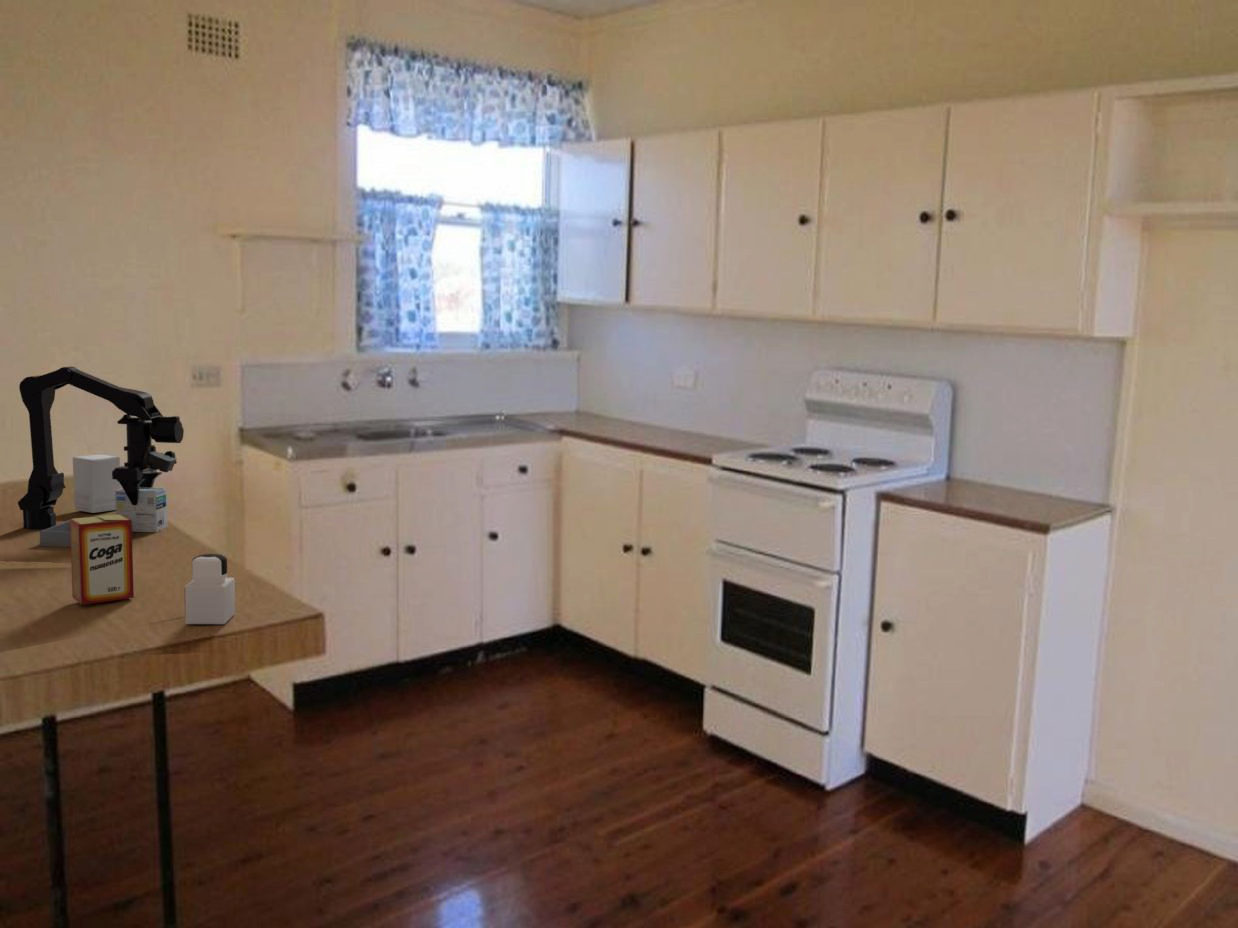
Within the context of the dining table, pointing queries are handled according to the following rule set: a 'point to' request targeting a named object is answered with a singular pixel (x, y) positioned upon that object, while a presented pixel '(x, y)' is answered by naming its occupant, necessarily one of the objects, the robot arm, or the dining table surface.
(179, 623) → the dining table surface
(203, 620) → the medicine bottle
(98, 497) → the supplement box
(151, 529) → the light bulb box
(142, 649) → the dining table surface
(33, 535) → the dining table surface
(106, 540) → the baking soda box
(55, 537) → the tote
